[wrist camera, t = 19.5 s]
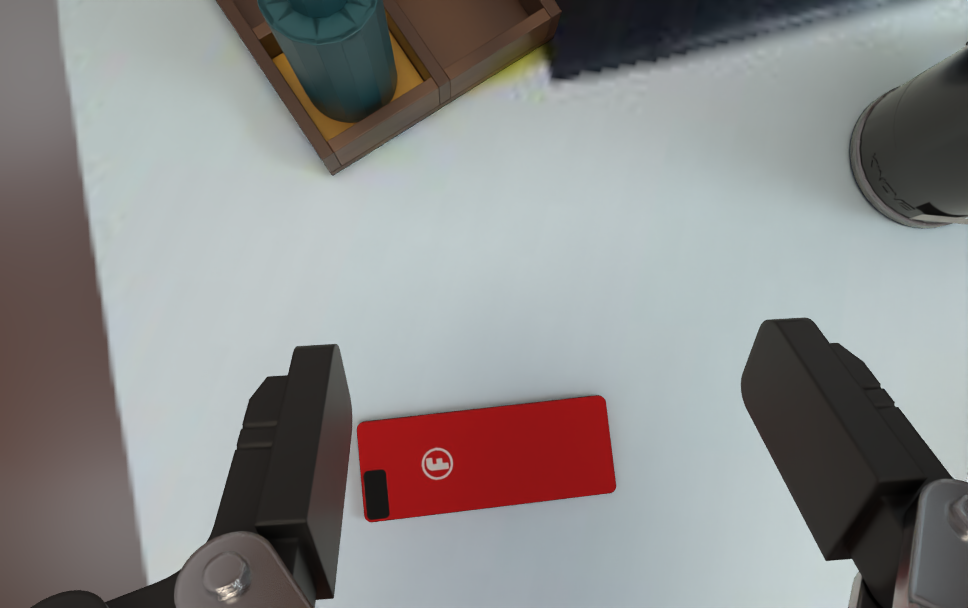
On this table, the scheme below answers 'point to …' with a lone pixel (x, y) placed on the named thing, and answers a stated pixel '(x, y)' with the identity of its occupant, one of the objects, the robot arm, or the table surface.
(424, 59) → the compartment tray
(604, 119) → the table surface
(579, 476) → the electronic device
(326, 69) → the bottle
